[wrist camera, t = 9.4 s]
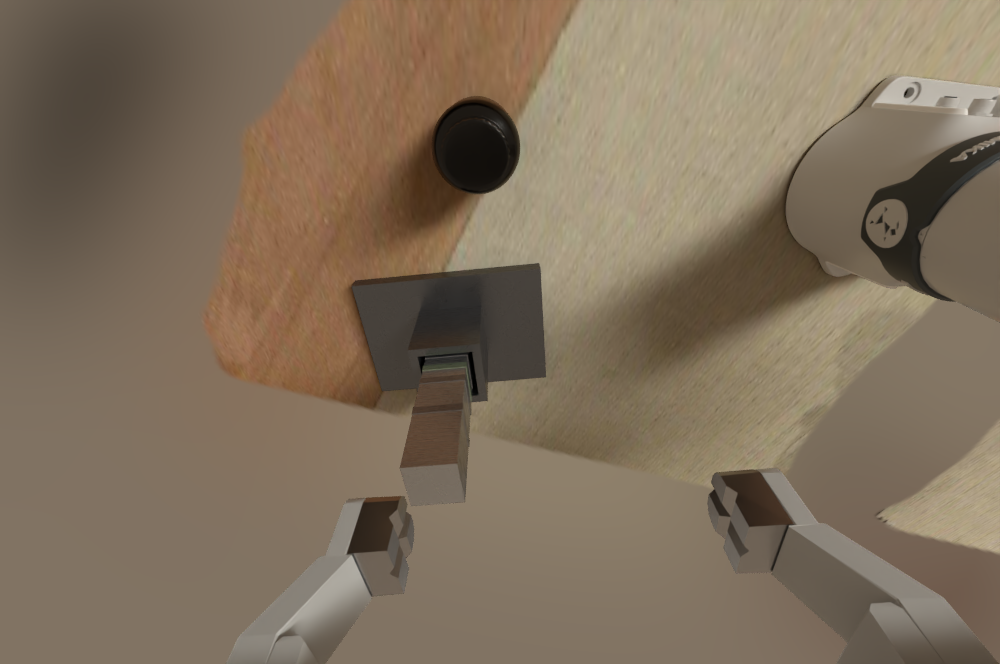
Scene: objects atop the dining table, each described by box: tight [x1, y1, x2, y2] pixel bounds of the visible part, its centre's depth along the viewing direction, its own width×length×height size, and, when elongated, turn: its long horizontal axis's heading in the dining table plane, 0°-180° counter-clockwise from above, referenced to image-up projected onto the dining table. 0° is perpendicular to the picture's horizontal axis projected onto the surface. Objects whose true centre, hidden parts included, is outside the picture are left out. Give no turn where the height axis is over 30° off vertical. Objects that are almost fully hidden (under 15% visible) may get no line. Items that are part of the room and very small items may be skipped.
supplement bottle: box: [432, 96, 520, 194], centre depth 35 cm, size 7×7×12 cm
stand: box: [352, 263, 546, 402], centre depth 46 cm, size 20×14×10 cm
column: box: [400, 352, 473, 506], centre depth 38 cm, size 4×4×16 cm
